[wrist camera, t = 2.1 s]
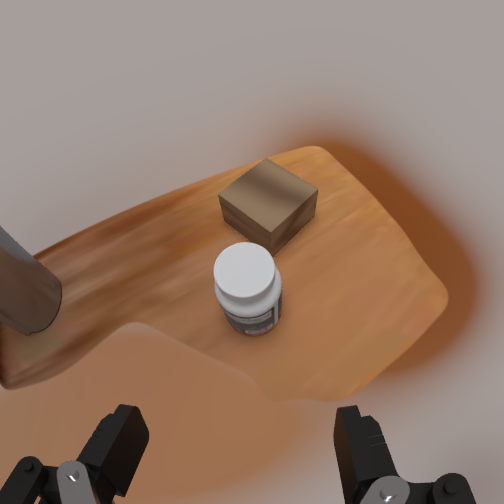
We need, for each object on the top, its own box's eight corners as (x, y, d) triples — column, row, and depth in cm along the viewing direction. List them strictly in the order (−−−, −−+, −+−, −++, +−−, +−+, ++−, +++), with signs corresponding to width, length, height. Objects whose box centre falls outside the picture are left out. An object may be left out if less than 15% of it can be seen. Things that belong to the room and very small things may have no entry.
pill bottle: (245, 277, 32) (233, 225, 24) (290, 300, 31) (296, 253, 22) (216, 320, 30) (192, 280, 22) (263, 346, 28) (258, 317, 20)
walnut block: (271, 257, 33) (270, 232, 29) (224, 220, 37) (217, 194, 32) (314, 215, 36) (318, 188, 32) (267, 185, 39) (265, 157, 35)
